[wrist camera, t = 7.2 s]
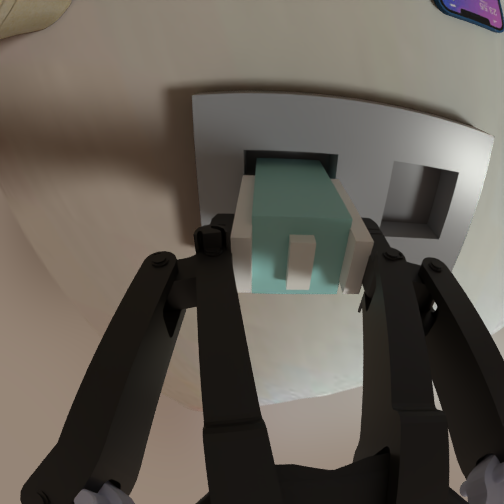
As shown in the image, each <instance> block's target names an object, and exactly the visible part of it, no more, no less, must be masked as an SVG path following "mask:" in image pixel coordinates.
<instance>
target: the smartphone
mask: <svg viewBox="0 0 504 504" xmlns="http://www.w3.org/2000/svg"><path fill="white" fill-rule="evenodd" d="M434 2H435V4H436V6H437V7H438V8H439V10H440V11H441V12H443V13H444V14H446V15H449V16H452V17H455V18H458V19H461V20H464V21H467V22H470V23H472V24H475V25H478V26H480V27H483V28H486V29H488V30H490V31H493V32H497V33H501V32H503V31H504V17H503V12H502V8H501V3H500V0H434Z"/></svg>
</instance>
